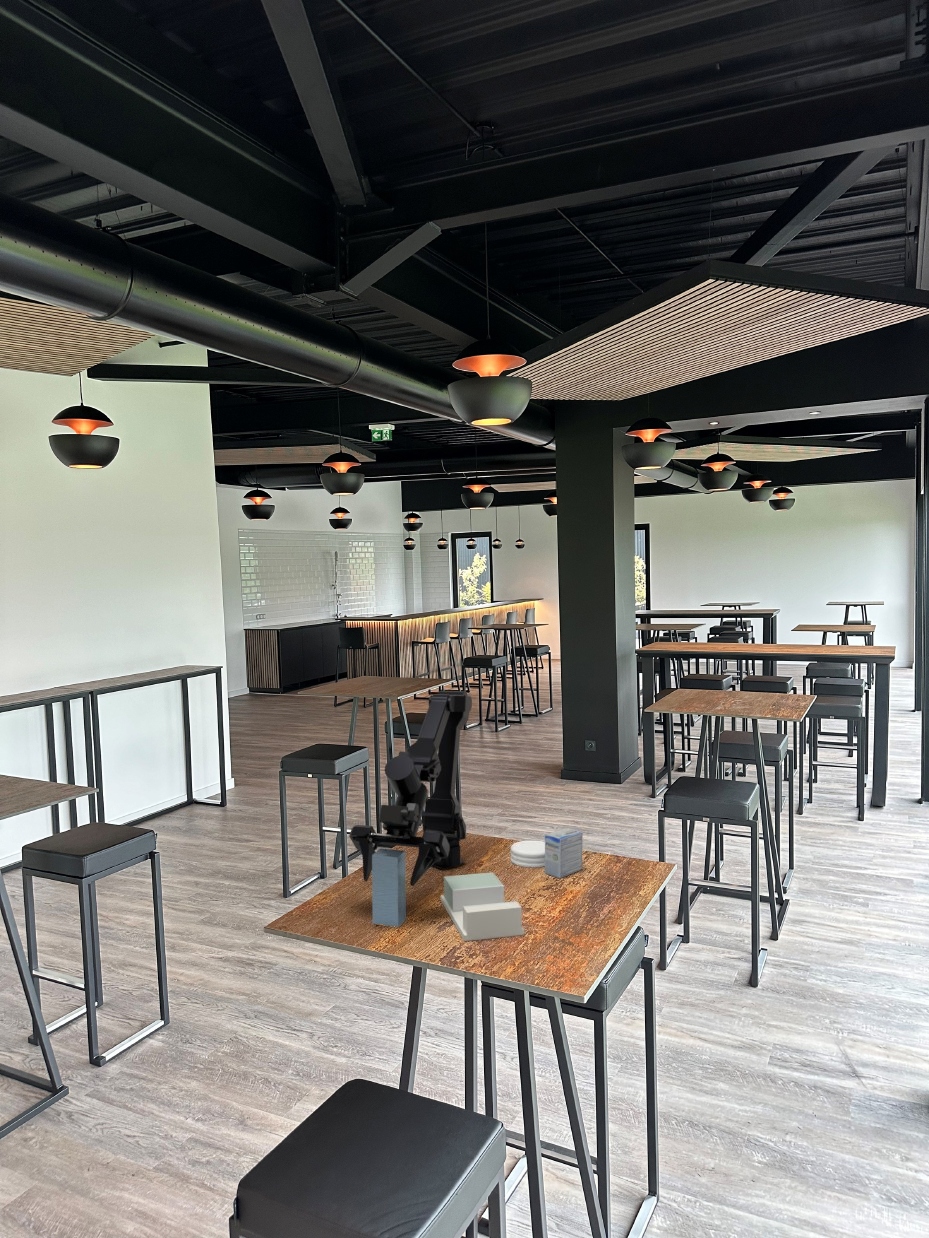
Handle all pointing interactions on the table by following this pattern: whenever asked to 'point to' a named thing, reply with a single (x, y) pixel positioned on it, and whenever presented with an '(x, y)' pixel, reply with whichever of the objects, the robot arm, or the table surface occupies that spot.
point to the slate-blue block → (389, 887)
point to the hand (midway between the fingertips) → (388, 882)
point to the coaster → (528, 854)
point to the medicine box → (563, 852)
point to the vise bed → (487, 920)
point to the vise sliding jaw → (472, 890)
